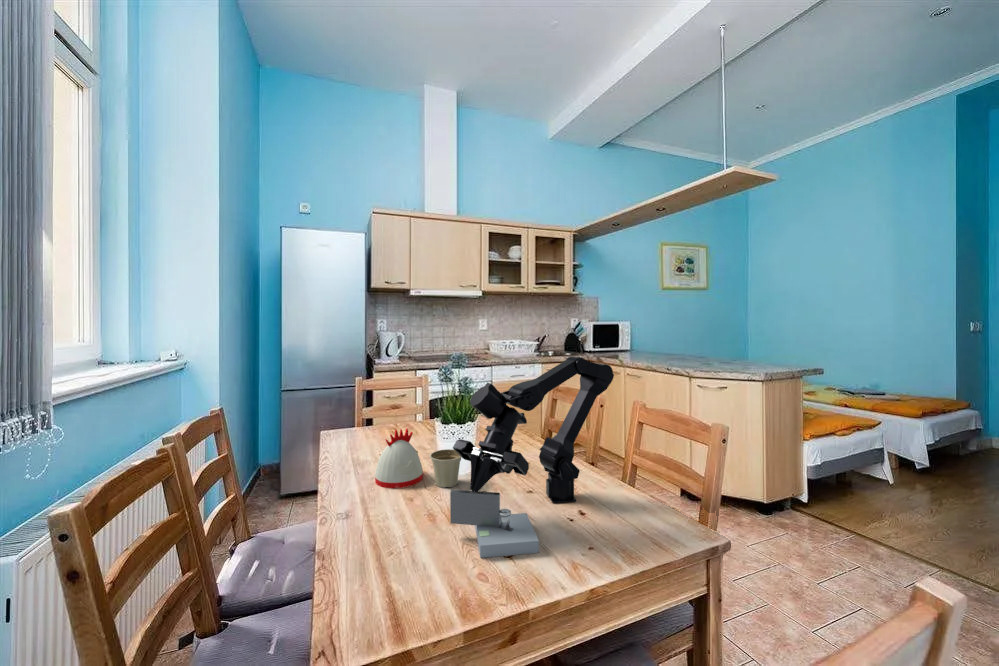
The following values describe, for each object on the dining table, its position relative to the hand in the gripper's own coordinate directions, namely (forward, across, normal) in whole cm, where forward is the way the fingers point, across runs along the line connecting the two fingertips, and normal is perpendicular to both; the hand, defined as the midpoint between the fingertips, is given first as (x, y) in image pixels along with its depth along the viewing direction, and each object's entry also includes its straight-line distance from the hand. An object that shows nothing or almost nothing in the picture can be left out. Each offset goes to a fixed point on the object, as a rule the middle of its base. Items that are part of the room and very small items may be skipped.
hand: (473, 491), depth 89 cm
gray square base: (+5, -7, -8) cm, 12 cm away
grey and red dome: (-1, +38, -15) cm, 41 cm away
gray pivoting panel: (+5, -2, -5) cm, 7 cm away
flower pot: (-5, +24, -19) cm, 31 cm away
